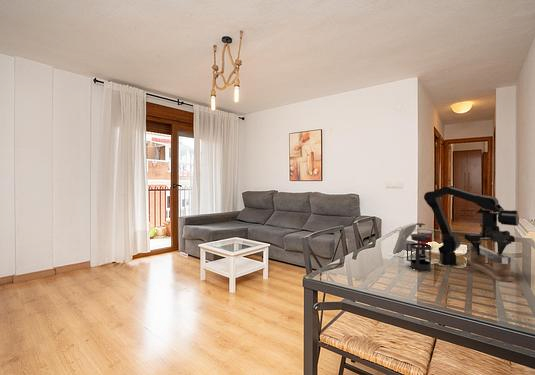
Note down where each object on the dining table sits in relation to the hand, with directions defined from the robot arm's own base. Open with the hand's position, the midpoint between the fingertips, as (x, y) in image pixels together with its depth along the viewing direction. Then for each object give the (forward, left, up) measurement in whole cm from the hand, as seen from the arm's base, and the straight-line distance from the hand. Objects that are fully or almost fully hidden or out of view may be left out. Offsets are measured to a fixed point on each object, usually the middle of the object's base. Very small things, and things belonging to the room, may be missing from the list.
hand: (488, 255), depth 132 cm
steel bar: (0, 0, -1) cm, 1 cm away
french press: (-30, +3, -8) cm, 31 cm away
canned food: (-13, +42, -8) cm, 45 cm away
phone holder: (-30, +30, -8) cm, 43 cm away
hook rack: (0, 0, -8) cm, 8 cm away
